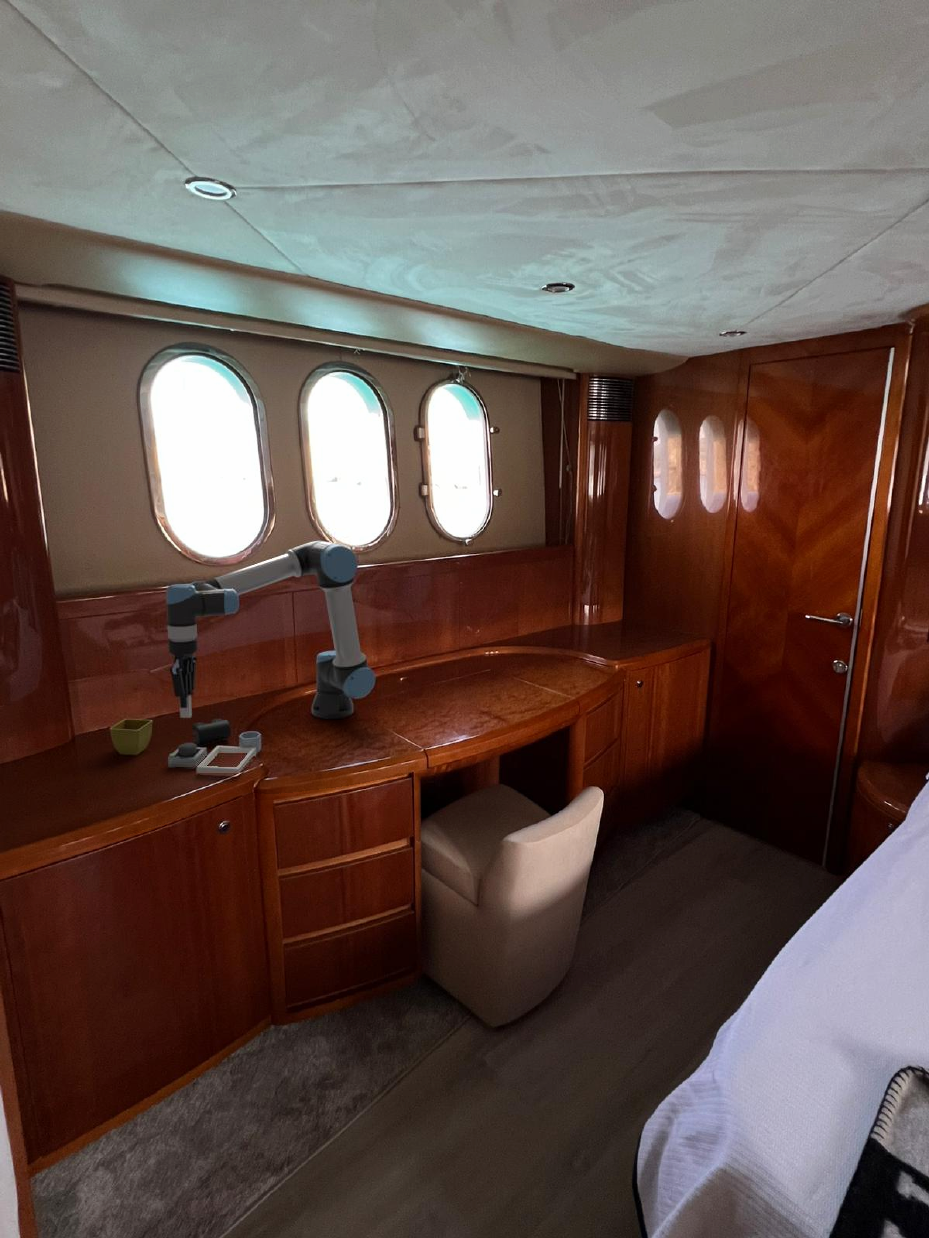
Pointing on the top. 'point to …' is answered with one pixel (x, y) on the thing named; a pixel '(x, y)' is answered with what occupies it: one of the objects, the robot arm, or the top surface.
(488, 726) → the top surface
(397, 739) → the top surface
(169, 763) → the box
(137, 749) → the flower pot
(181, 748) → the test button
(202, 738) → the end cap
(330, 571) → the robot arm
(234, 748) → the light grey rectangular frame
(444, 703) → the top surface
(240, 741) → the blue-grey short hollow cylinder
